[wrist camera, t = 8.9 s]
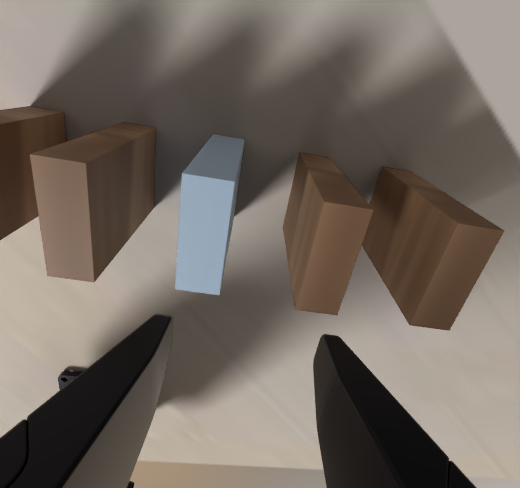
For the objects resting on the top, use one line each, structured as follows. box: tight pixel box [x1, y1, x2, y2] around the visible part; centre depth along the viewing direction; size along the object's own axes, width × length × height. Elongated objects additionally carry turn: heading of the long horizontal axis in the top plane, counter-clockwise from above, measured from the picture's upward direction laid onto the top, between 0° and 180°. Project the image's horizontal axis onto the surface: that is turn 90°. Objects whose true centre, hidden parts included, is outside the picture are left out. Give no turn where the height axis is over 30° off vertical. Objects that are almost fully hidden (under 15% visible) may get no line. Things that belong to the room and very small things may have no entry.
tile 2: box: [283, 152, 373, 315], centre depth 17 cm, size 2×5×8 cm, turn 171°
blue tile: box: [175, 134, 245, 295], centre depth 16 cm, size 2×5×8 cm, turn 170°
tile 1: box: [362, 167, 504, 330], centre depth 17 cm, size 2×5×8 cm, turn 171°
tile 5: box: [0, 106, 67, 240], centre depth 15 cm, size 2×5×8 cm, turn 171°
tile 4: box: [30, 122, 156, 282], centre depth 16 cm, size 2×5×8 cm, turn 170°
